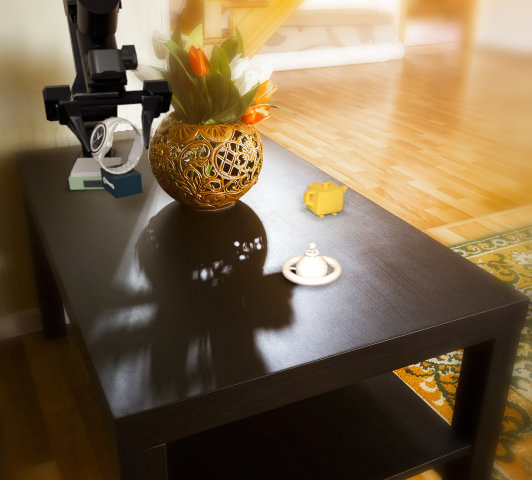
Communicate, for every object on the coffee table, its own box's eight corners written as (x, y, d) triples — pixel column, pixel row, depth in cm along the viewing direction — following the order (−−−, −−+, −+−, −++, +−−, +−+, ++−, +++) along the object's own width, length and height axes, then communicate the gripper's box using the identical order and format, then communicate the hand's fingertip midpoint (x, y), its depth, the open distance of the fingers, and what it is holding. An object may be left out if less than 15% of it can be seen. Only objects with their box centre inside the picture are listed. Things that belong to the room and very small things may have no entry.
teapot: (334, 201, 110) (336, 172, 107) (352, 213, 105) (355, 183, 102) (294, 208, 107) (295, 178, 104) (310, 220, 102) (312, 190, 99)
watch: (90, 189, 98) (81, 119, 92) (138, 179, 102) (131, 111, 96) (104, 201, 94) (95, 129, 88) (153, 190, 98) (147, 120, 92)
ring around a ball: (320, 301, 80) (352, 278, 85) (321, 261, 77) (354, 239, 83) (270, 284, 84) (303, 263, 90) (269, 245, 81) (304, 226, 87)
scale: (77, 172, 120) (75, 157, 118) (125, 171, 121) (124, 156, 119) (70, 190, 112) (67, 174, 110) (121, 189, 113) (119, 173, 111)
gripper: (31, 25, 86) (49, 129, 83) (166, 21, 92) (187, 118, 89) (38, 73, 96) (54, 166, 94) (158, 66, 102) (177, 155, 99)
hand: (118, 151), depth 94 cm, fingers closed on watch, 8 cm apart
